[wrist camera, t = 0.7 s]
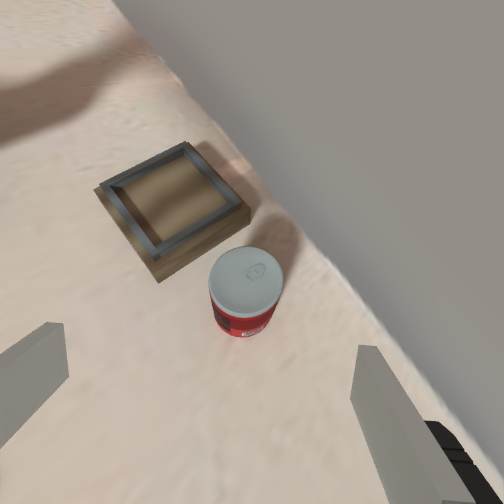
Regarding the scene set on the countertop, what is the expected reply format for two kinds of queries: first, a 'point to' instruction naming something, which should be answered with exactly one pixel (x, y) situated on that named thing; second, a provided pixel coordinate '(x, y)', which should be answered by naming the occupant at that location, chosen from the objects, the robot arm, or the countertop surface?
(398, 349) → the countertop surface
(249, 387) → the countertop surface
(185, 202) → the square wooden tray
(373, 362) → the robot arm
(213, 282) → the canned food
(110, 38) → the countertop surface
